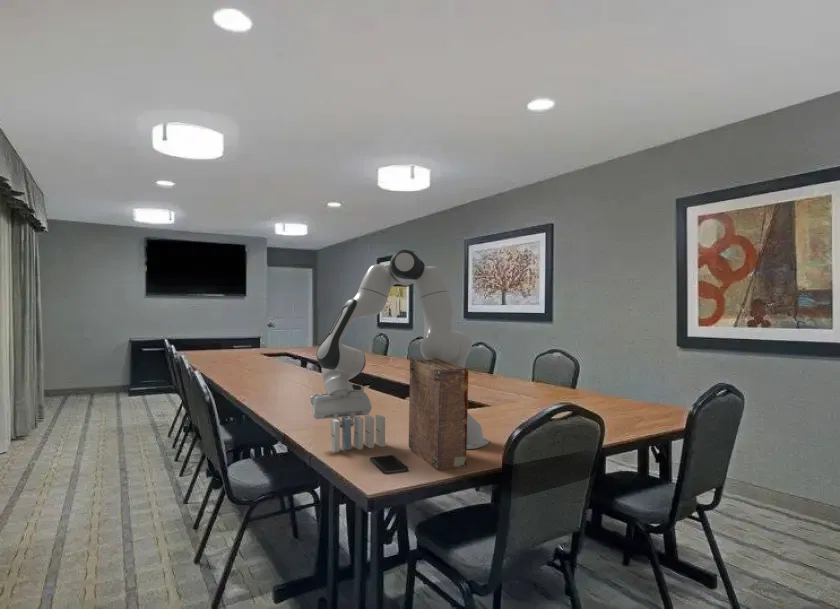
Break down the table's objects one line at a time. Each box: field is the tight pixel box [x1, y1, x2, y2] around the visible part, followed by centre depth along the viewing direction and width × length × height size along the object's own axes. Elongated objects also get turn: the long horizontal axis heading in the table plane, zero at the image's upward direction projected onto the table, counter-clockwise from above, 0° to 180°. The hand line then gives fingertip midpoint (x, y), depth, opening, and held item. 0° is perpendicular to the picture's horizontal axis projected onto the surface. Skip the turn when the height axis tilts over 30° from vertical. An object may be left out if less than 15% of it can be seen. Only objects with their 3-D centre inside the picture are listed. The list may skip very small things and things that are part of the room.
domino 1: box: [330, 418, 341, 453], centre depth 169 cm, size 2×5×10 cm, turn 25°
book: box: [408, 358, 469, 472], centre depth 161 cm, size 25×9×30 cm, turn 21°
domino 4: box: [364, 414, 375, 449], centre depth 174 cm, size 2×5×10 cm, turn 25°
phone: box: [369, 454, 409, 475], centre depth 153 cm, size 8×1×15 cm
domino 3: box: [353, 416, 365, 450], centre depth 173 cm, size 2×5×10 cm, turn 25°
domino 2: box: [341, 417, 352, 451], centre depth 172 cm, size 2×5×10 cm, turn 25°
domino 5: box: [375, 414, 386, 448], centre depth 176 cm, size 2×5×10 cm, turn 26°
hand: (346, 426), depth 172 cm, fingers open, 2 cm apart
